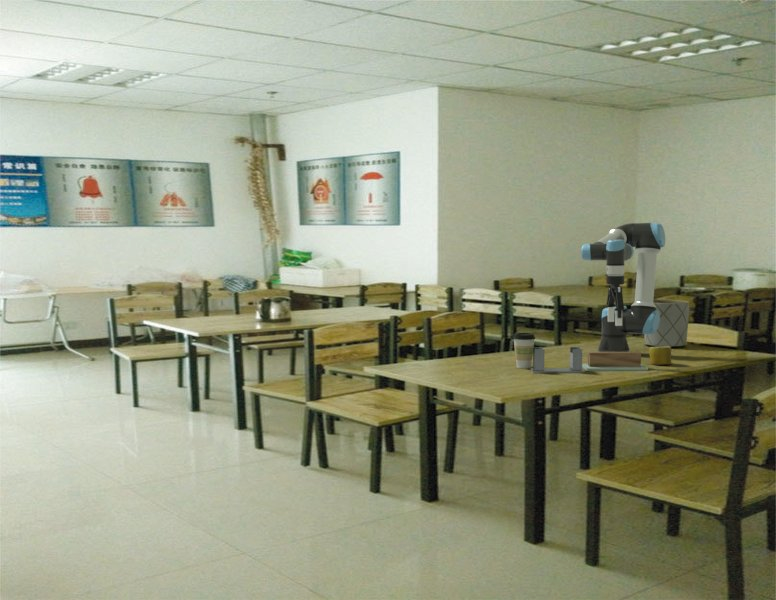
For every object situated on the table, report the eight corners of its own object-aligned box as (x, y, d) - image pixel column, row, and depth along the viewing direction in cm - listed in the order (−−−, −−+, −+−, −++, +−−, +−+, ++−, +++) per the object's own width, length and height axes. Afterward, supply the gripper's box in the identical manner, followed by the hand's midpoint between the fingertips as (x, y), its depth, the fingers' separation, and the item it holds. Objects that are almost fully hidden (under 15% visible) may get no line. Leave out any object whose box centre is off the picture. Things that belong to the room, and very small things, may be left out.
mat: (581, 365, 338) (581, 363, 338) (640, 365, 337) (640, 363, 337) (587, 370, 326) (587, 368, 326) (648, 370, 325) (648, 368, 325)
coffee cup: (523, 370, 330) (523, 336, 328) (508, 366, 338) (508, 333, 337) (539, 367, 335) (539, 334, 334) (524, 364, 343) (524, 332, 342)
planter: (665, 350, 380) (666, 304, 378) (633, 344, 401) (633, 300, 399) (698, 347, 390) (699, 301, 388) (665, 341, 410) (666, 298, 408)
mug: (677, 362, 333) (669, 341, 335) (654, 369, 335) (646, 347, 337) (674, 363, 345) (667, 342, 346) (652, 369, 347) (644, 349, 349)
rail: (587, 365, 334) (587, 351, 334) (638, 365, 333) (638, 351, 333) (589, 366, 330) (589, 353, 330) (640, 366, 329) (641, 352, 329)
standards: (530, 369, 330) (530, 347, 330) (581, 369, 329) (581, 346, 329) (532, 373, 322) (533, 349, 322) (584, 372, 321) (585, 349, 321)
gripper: (599, 273, 341) (599, 320, 343) (613, 277, 316) (613, 327, 318) (616, 273, 340) (616, 320, 342) (631, 276, 316) (631, 327, 318)
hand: (614, 323), depth 330 cm, fingers open, 13 cm apart
